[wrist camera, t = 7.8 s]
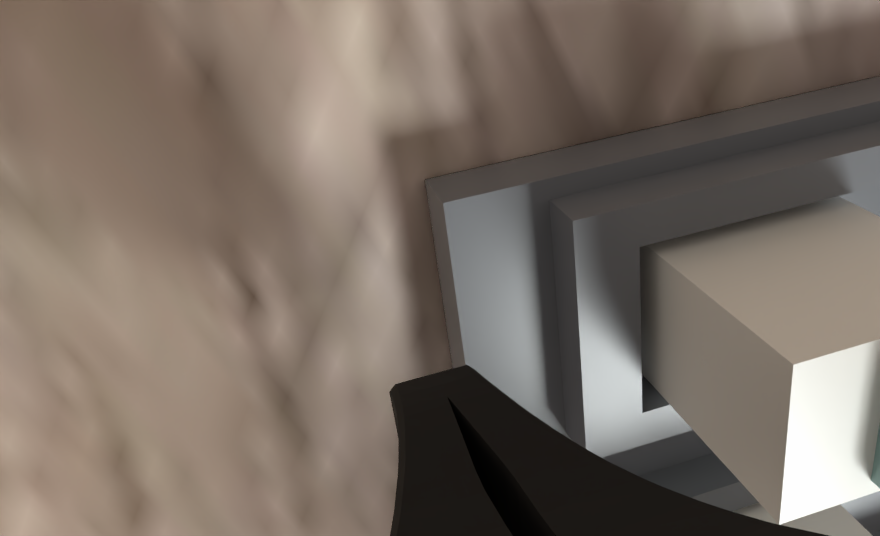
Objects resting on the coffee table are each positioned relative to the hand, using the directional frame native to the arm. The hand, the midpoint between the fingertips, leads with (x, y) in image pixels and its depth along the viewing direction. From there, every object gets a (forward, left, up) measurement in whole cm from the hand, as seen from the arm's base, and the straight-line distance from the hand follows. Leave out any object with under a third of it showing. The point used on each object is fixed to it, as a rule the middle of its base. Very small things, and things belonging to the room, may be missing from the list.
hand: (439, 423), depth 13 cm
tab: (0, -6, -2) cm, 7 cm away
